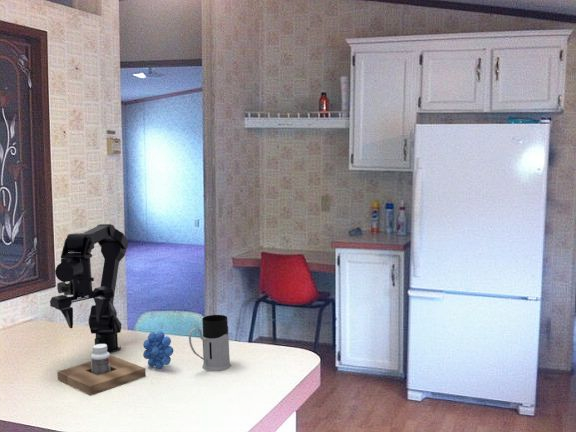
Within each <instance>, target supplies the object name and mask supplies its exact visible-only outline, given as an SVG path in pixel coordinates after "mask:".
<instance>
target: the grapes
mask: <svg viewBox="0 0 576 432" xmlns="http://www.w3.org/2000/svg"><path fill="white" fill-rule="evenodd" d="M171 342H172V340H171V338H170V336H167V335H165V333H164V331H162V330H159V331H157V332H154V331H152V332H150V333H149V334H148V336H147V339H144V341H143V344H142V345H143V348H144V349H145V350H144V351H143V354H142V356H143V358H144V359H145V360H147V366H149V367H150V368H155V369H157V370H162V369H163V368H164V367H165V366H168V365H170V363H171V359H172V358H171V356H172V355H173V353H174V347H172V346H171Z"/></svg>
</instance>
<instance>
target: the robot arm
mask: <svg viewBox="0 0 576 432" xmlns="http://www.w3.org/2000/svg"><path fill="white" fill-rule="evenodd" d="M96 244H98V245H99V246H100V252H101V255H102V257H103V258H104V259H103V268H102V274H101V279H100V286H98V287H95V288H94V289H93V282H95V278H94V277H93V276H92V267H91V264H92V263H91V258H93V254H92V251H93V249H95V245H96ZM128 247H129V241H128V238H127V237H126V235H125V233H123V232H122V231H120V230H118V229H117V228H115V226H114V225H113V224H111V223H109V224H108V223H107V224H106V223H105V224H104V223H103V224H102V223H101V224H100V223H99V224H98V225H96V226H95V227H93V228H90V229H88V230H86V231H84V232H77V233H76V232H75V233H68V235H67V236H66V238H65V240H64V243H63V248H62V251H61V254H60V263H58V264H57V266H56V267H55V270H54V274H55V276H56V278H57V280H59V281H61V282H58V283H57V286H56V288H57V289H56V290H57V292H58V294H62V295H56V296H52V297H51V298H50V300H49V305H50V308H54V309H56V310H59V311H60V312H61V313H62V315H63V317H64V319H65V321H66V323H67V326H68V327H69V328H70V329H73V326H74V308H73V306H72V305H73V303H77V302H81V301H82V302H83V301H86V300H90V299H93V302H94V303H95V305H91V307H90V313H89V316H88V327H89V329H90V334H92V335H93V334H94V335H95V337H94V345H97V344H106V345H107V352H109V353H113V352H117V351H120V350H122V348H121V347H120V346H119V340H118V339H119V338H118V334H120V333H121V331H122V323H121V321H120V319H119V318H118V317H117V315H118V313H117V310H116V307H115V306H114V299H115V292H116V285H117V279H118V271H119V266H120V265H119V264H120V262H121V261H122V259H123V258H124V257H125V256H126V252H127V248H128Z"/></svg>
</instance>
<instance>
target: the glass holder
mask: <svg viewBox="0 0 576 432" xmlns="http://www.w3.org/2000/svg"><path fill="white" fill-rule="evenodd" d="M201 319H202V320H201V321H202V324H201V325H202V329H200V328H199V327H193V328H192V329H191V330H190V331H189V334H188V342H189V347H190V349H191V351H192V352H193V354H194V355H196V356H197V358H200V359H201V360H202V361H203V364H202V365H201V366H202V367H201V368H202V369H203V370H204V371H207V372H222V371H225V370H226V371H227V370H229V369H230V368H231V367H232V364H231V358H230V341H229V339H230V338H229V337H230V336H229V334H230V333H229V325H228V316H227V315H224V314H210V315H207V316H206V315H205V316H204V317H202V318H201ZM195 330H197V331H198V332H199V338H200V340H201V341H202V353H203V354H202V356H201V355H199V353H197V352H196V350H195V348H194V346H193V344H192V343H193V342H192V334H193V332H194V331H195Z"/></svg>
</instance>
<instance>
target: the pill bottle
mask: <svg viewBox="0 0 576 432" xmlns="http://www.w3.org/2000/svg"><path fill="white" fill-rule="evenodd" d="M92 351H93V353H91V354H90V362H91V366H92V374H95V375H97V376H98V375H101V374H104V373H107V372H110V371H111V363H110V356H111V354H110V353H111V352H110V353H109V352H107V345H106V344H97V345H95V344H94V345H93V346H92Z"/></svg>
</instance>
